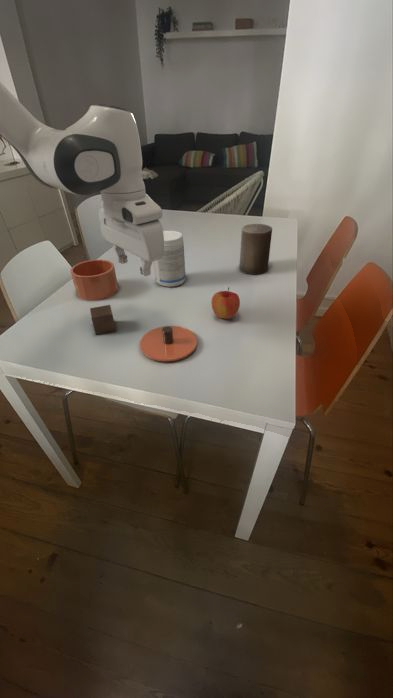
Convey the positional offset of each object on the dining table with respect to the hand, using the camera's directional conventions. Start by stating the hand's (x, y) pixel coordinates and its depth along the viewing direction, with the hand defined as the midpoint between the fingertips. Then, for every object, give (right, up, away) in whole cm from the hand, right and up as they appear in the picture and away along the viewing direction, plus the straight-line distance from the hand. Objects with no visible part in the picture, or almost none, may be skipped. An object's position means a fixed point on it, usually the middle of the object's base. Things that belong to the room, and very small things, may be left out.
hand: (134, 268), depth 73 cm
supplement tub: (+6, +3, +29) cm, 30 cm away
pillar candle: (+34, +9, +36) cm, 50 cm away
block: (-9, -13, +9) cm, 18 cm away
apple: (+22, -10, +12) cm, 27 cm away
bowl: (-16, 0, +25) cm, 30 cm away
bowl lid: (+8, -17, +2) cm, 19 cm away
